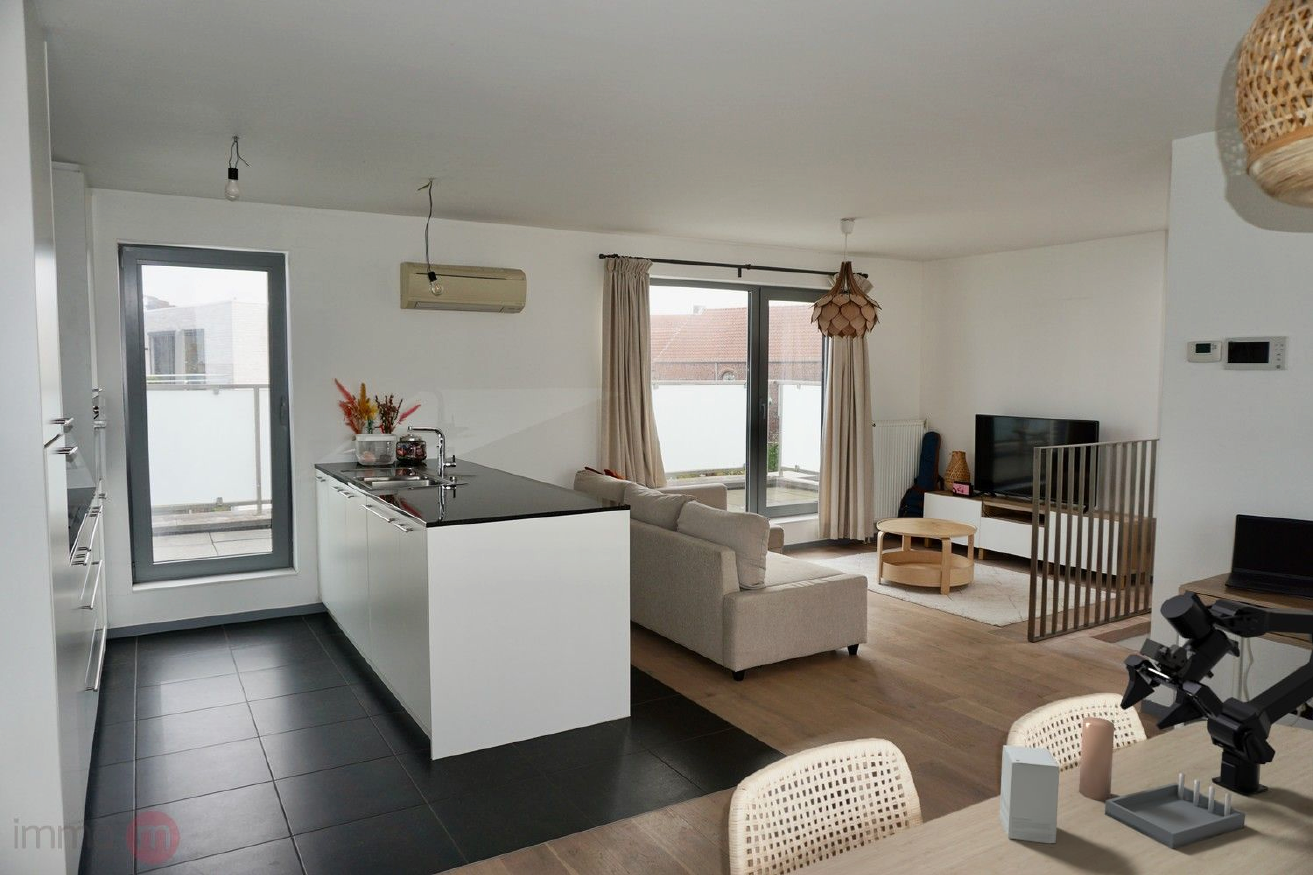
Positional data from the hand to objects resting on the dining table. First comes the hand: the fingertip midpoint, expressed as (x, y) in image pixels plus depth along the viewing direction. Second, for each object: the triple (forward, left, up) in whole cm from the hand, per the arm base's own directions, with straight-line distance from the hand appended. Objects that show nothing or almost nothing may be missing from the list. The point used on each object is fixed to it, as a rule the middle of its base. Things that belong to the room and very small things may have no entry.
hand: (1139, 717), depth 155 cm
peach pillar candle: (+8, -2, -14) cm, 16 cm away
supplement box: (+30, +3, -14) cm, 33 cm away
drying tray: (+4, +10, -14) cm, 17 cm away
